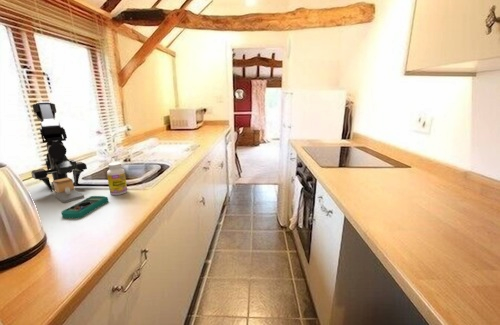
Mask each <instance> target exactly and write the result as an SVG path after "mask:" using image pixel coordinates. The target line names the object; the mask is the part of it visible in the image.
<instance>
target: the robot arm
mask: <svg viewBox="0 0 500 325" xmlns="http://www.w3.org/2000/svg"><path fill="white" fill-rule="evenodd" d="M56 107H57V106H56V104H55V103H52V102H50V101H37V102H36V103H34V104H32V110H33V114H34V115H36V117H37V118H36V119H38V121H40V127H39V131H40V132H39V134H40V136H41V140H42V143H43V144H45V146H46V149H47V153H46V160H45V164H46V169H44V168H40V169H35V170H32V171H31V177H32V178H33V179H34V180H39V181H41V182H43V183H44V184H45V186H46V187H47V188H48V190H49V191H50V192H51V193H54V192H53V187H52V185H54V183H53V181H54V180H58V179H63V178H67V177H68V174H71V173H72V175H73V176H72V178H73V184H74V187H77V186H78V183H79V179H80V176H81V174H82V173H83V172H85V170H88V167H87V164H86V163H85V162H82V161H78V162H77V160H75V159H71V160H70V159H68V158H69V157H67V148H66V146H65V145H64V142H66V141H67V139H68V137H67V132H66V130H65V128H64V126H62V125H60V121H58V120H56V113H57V109H56ZM48 175H52V182H51V181H50V178H49V177H48ZM68 178H69V177H68Z"/></svg>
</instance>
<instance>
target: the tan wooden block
mask: <svg viewBox="0 0 500 325" xmlns="http://www.w3.org/2000/svg"><path fill="white" fill-rule="evenodd" d="M52 182H53V183H54V184H53V186H54V191H55V193H60V192H64V191H65V188H66V187H69V188H70V190H72V189H74V190H75V188H74V187H75V184H74V180H73V179H72V178H69V177H67V178H63V179H58V180H54V181H53V180H52Z"/></svg>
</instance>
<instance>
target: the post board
mask: <svg viewBox="0 0 500 325" xmlns="http://www.w3.org/2000/svg"><path fill="white" fill-rule="evenodd" d="M53 196H54V197H55V198H56V199H58V200H59V201H60V202H62V203H63V204H64V203H68V202H73V201H75V200H79V199H82V198H84V197H85V196H84V194H83V193H82V192H81V193H80V192H79V191H77V190H75V188H74V189H72V190H70V188H69V187H66V188H65V191H64V192H60V193H57V192H55V193H53Z"/></svg>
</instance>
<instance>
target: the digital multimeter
mask: <svg viewBox="0 0 500 325" xmlns="http://www.w3.org/2000/svg"><path fill="white" fill-rule="evenodd" d="M108 202H109V198H108V197H107V196H103V195H91V196H89V197H88V198H85V199H84V200H82V201H79V202H78V203H75V204H73V205H72V206H70V207H67V208H65V209H63V210H62V211H61V217H62V218H65V219H82V218H83V217H85V216H86V215H88V214H90V213H91V212H94V211H95V210H96V209H98V208H100V207H101V206H103V205H105V204H107V203H108Z"/></svg>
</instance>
